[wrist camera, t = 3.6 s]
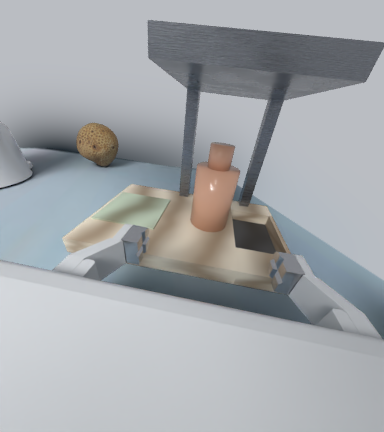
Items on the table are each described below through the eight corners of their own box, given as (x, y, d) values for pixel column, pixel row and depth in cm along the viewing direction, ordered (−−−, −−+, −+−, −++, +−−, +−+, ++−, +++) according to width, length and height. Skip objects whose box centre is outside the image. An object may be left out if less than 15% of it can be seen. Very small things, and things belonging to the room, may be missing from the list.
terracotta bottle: (187, 228, 21) (197, 145, 16) (193, 209, 25) (202, 138, 20) (226, 235, 21) (249, 152, 16) (225, 214, 25) (243, 144, 20)
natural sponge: (99, 174, 38) (90, 126, 33) (73, 166, 41) (60, 120, 36) (127, 166, 46) (123, 125, 40) (103, 159, 48) (97, 120, 43)
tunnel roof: (152, 247, 18) (147, 20, 9) (181, 192, 30) (190, 75, 21) (266, 269, 17) (386, 42, 8) (246, 202, 29) (284, 86, 21)
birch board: (67, 251, 18) (61, 236, 17) (132, 193, 32) (131, 183, 31) (297, 296, 17) (307, 283, 16) (262, 215, 30) (267, 205, 29)
